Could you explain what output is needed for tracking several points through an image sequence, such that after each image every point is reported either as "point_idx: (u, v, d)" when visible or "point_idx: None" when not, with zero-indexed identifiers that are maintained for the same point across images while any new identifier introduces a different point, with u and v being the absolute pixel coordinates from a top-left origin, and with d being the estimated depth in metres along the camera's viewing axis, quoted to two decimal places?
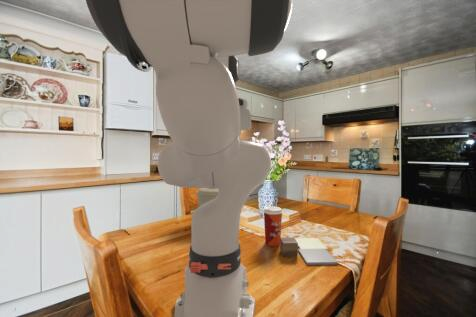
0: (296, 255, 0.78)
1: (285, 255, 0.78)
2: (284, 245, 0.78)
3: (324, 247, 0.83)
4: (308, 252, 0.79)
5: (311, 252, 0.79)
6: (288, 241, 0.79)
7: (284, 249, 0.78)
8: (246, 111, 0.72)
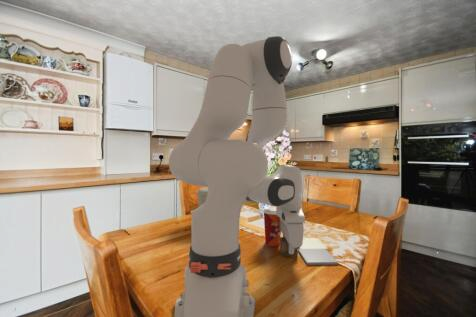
0: (296, 255, 0.78)
1: (285, 255, 0.78)
2: (284, 245, 0.78)
3: (324, 247, 0.83)
4: (308, 252, 0.79)
5: (311, 252, 0.79)
6: None
7: (284, 249, 0.78)
8: (287, 227, 0.71)
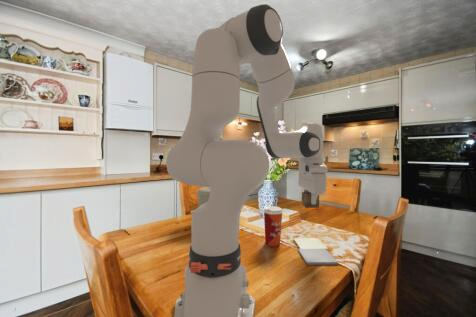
0: (318, 206, 0.85)
1: (308, 206, 0.84)
2: (307, 196, 0.84)
3: (324, 247, 0.83)
4: (308, 252, 0.79)
5: (311, 252, 0.79)
6: (310, 194, 0.85)
7: (307, 200, 0.84)
8: (311, 176, 0.78)
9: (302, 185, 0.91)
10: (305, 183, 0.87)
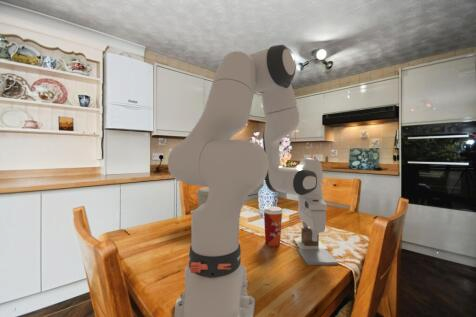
0: (317, 244, 0.85)
1: (307, 244, 0.85)
2: (306, 235, 0.85)
3: (324, 247, 0.83)
4: (308, 252, 0.79)
5: (311, 252, 0.79)
6: (309, 231, 0.86)
7: (306, 238, 0.85)
8: (311, 214, 0.78)
9: (302, 217, 0.91)
10: (305, 217, 0.87)
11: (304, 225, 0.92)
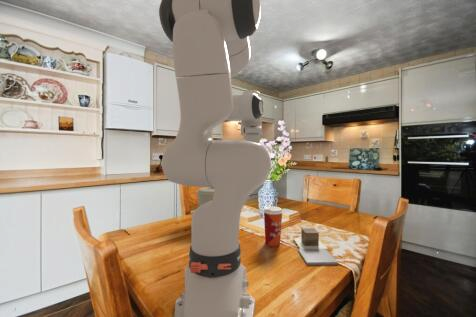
0: (317, 244, 0.85)
1: (307, 244, 0.85)
2: (306, 235, 0.85)
3: (324, 247, 0.83)
4: (308, 252, 0.79)
5: (311, 252, 0.79)
6: (309, 231, 0.86)
7: (306, 238, 0.85)
8: (246, 137, 0.86)
9: None
10: None
11: None
